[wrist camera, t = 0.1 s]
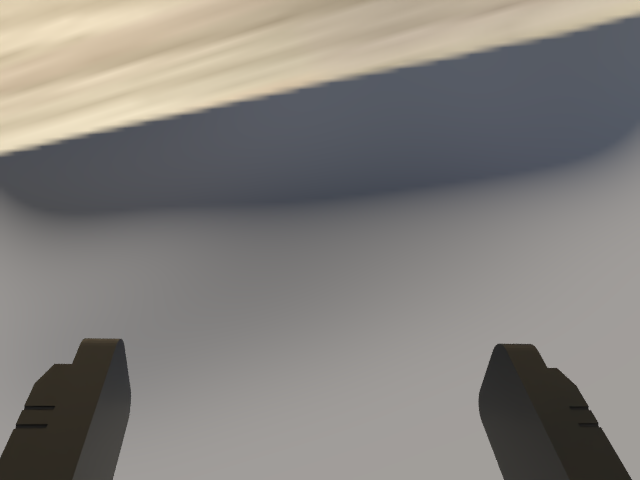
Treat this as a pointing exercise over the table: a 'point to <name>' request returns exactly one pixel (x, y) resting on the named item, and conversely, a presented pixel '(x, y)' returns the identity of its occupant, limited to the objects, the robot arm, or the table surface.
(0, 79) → the table surface
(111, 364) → the robot arm
